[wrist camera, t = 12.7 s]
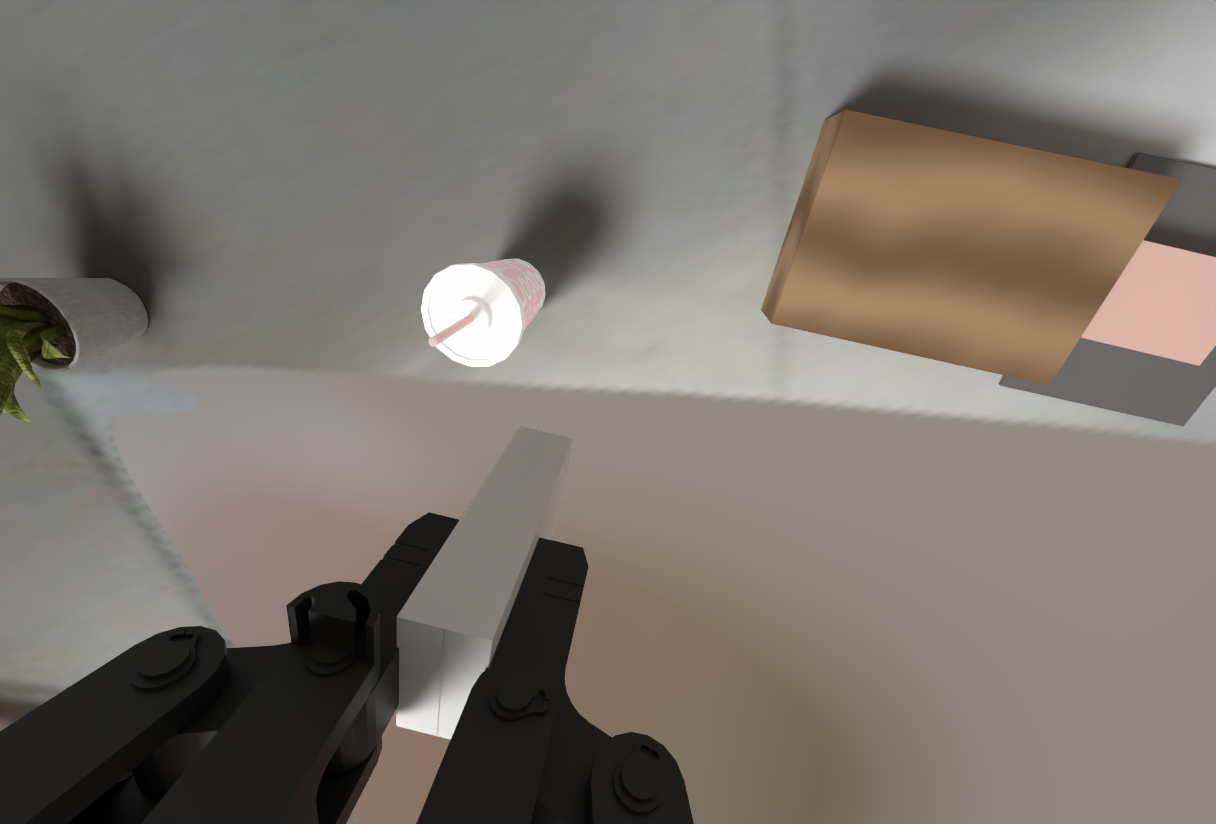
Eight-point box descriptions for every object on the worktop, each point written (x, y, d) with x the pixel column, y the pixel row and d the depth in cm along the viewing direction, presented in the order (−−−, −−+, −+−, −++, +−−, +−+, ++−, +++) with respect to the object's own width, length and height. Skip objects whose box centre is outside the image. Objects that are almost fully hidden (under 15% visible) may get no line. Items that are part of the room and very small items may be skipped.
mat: (1135, 153, 28) (1139, 153, 28) (1359, 200, 28) (1365, 200, 28) (998, 383, 35) (1001, 385, 35) (1179, 424, 35) (1183, 426, 34)
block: (1095, 232, 30) (1122, 235, 28) (1238, 266, 30) (1274, 271, 28) (1038, 324, 33) (1059, 332, 31) (1170, 356, 32) (1199, 365, 31)
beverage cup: (565, 320, 37) (510, 386, 24) (492, 337, 38) (404, 408, 25) (541, 237, 35) (466, 263, 22) (464, 258, 36) (352, 295, 23)
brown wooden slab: (824, 119, 30) (846, 109, 26) (1118, 181, 29) (1182, 179, 25) (761, 309, 35) (771, 323, 31) (1009, 365, 34) (1049, 385, 31)
